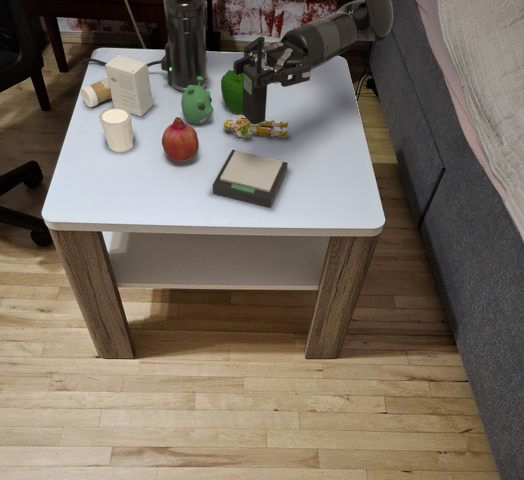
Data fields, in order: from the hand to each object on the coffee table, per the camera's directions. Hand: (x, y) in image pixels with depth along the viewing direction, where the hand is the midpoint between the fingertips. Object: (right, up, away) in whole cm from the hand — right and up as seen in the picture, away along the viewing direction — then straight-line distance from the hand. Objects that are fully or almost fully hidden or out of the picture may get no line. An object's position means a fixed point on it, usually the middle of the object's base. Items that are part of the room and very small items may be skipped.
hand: (245, 75), depth 89 cm
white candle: (-29, -2, +26) cm, 40 cm away
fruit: (-15, -6, +25) cm, 29 cm away
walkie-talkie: (+2, -4, +9) cm, 10 cm away
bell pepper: (-3, +12, +37) cm, 39 cm away
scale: (+1, -12, +21) cm, 24 cm away
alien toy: (-12, +6, +33) cm, 36 cm away
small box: (-29, +11, +35) cm, 46 cm away
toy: (+1, +3, +31) cm, 31 cm away
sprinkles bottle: (-30, +19, +37) cm, 51 cm away
